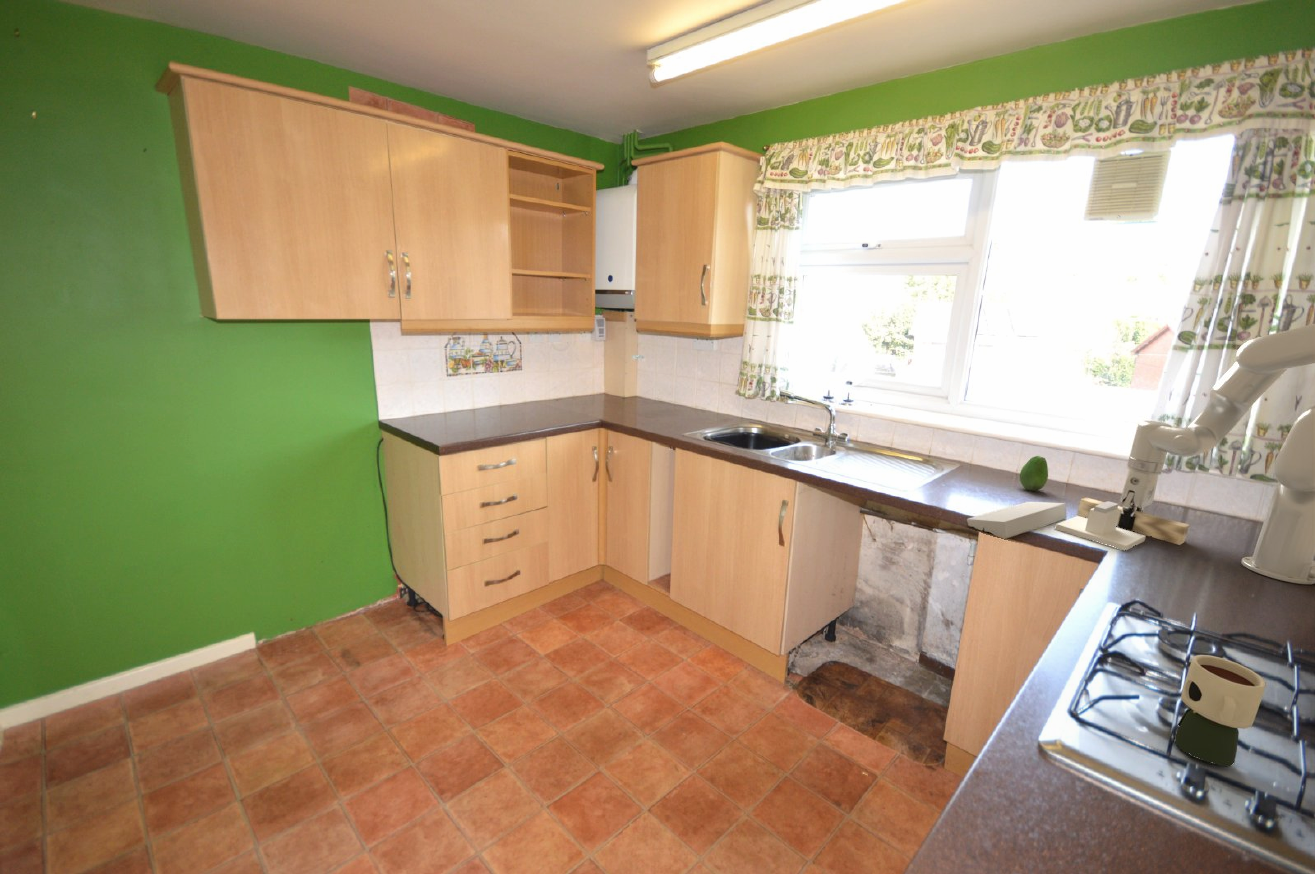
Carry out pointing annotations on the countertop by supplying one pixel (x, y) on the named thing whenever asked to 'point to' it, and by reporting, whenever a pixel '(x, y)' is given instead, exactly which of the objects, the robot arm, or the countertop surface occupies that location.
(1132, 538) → the balance stand
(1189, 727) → the character mug
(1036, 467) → the fruit
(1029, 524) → the white flat block
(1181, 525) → the beech batten
